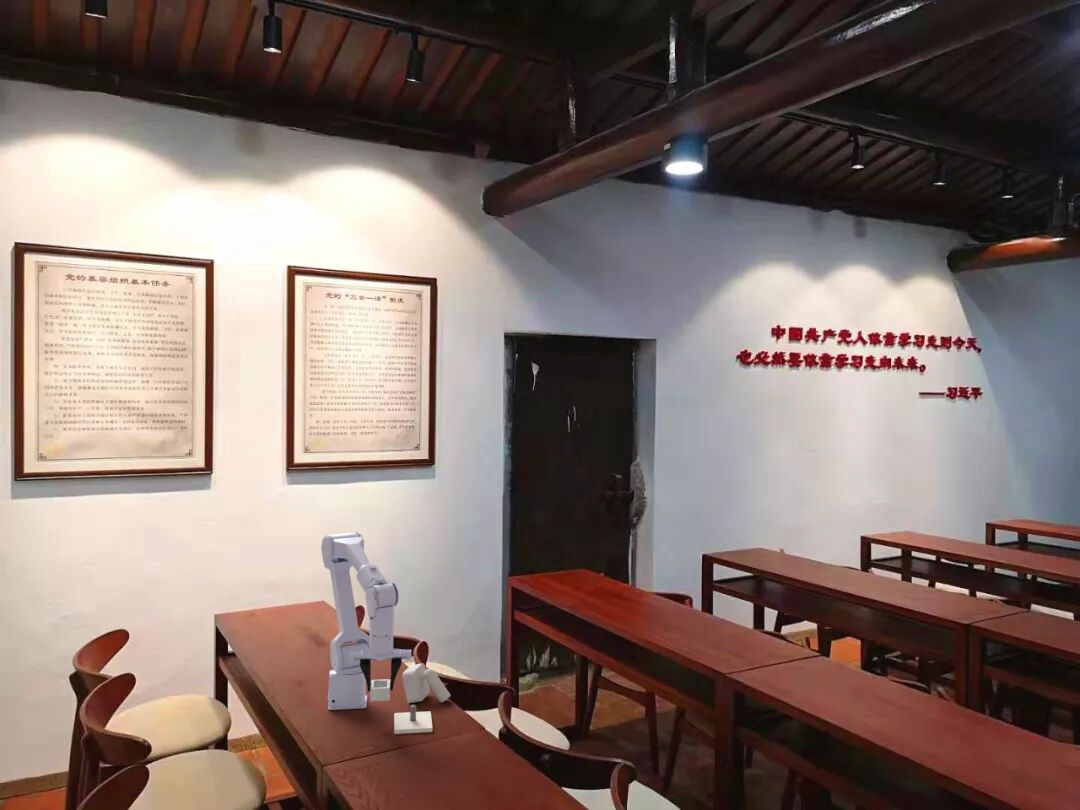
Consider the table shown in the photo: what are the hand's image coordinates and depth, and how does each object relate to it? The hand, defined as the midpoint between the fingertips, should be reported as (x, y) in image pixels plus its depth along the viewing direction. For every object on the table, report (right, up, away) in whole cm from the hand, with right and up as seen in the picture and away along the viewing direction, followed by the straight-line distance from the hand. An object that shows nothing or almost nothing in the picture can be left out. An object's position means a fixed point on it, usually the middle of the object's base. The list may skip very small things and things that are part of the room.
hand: (380, 689), depth 196 cm
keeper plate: (+8, -9, +2) cm, 12 cm away
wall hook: (+9, -9, +17) cm, 21 cm away
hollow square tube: (0, -2, 0) cm, 2 cm away
